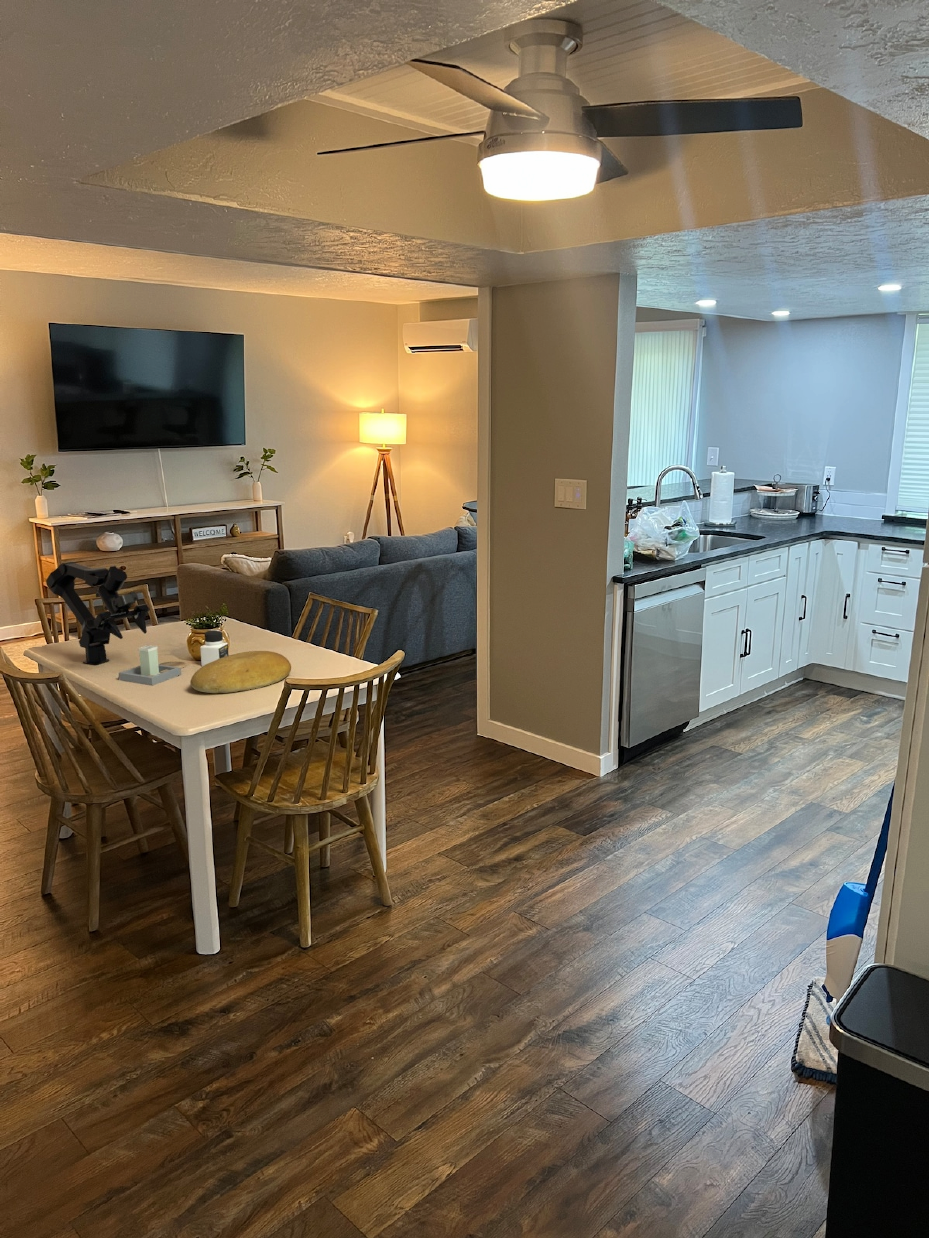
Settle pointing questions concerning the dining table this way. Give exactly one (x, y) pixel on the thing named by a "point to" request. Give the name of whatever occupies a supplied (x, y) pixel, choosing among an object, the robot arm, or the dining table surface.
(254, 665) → the bread
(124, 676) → the grey square frame
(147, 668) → the tall square-topped block
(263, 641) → the dining table surface
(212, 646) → the medicine bottle
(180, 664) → the coaster
